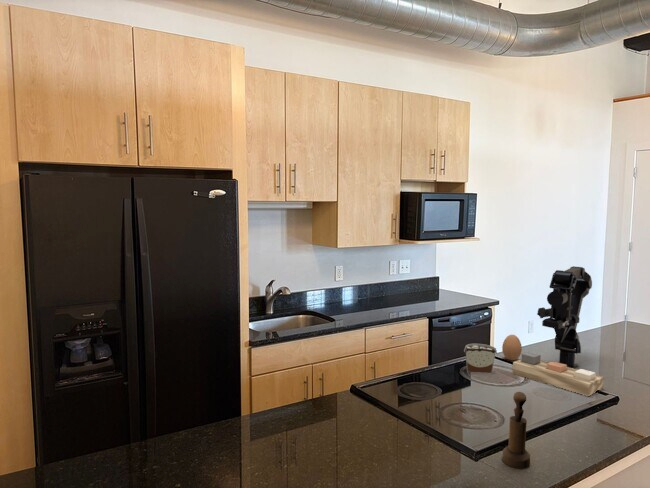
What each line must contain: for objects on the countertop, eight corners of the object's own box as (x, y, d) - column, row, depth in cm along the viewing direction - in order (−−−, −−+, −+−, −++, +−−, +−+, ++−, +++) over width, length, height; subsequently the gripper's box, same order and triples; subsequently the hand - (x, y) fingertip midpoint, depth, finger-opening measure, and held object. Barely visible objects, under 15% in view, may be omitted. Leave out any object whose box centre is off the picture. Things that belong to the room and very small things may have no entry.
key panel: (528, 367, 195) (528, 356, 195) (602, 389, 174) (603, 376, 173) (512, 373, 188) (513, 362, 187) (588, 397, 166) (589, 384, 166)
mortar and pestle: (497, 455, 126) (501, 387, 124) (521, 454, 126) (526, 387, 125) (509, 469, 119) (513, 397, 118) (534, 468, 120) (539, 397, 118)
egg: (522, 359, 205) (524, 334, 204) (518, 364, 199) (520, 338, 198) (503, 356, 209) (505, 331, 208) (499, 360, 203) (501, 335, 202)
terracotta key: (552, 368, 184) (553, 361, 184) (566, 372, 180) (566, 364, 180) (546, 371, 181) (547, 363, 181) (560, 375, 177) (560, 367, 177)
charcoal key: (527, 359, 192) (528, 351, 191) (540, 362, 188) (540, 354, 187) (521, 361, 188) (521, 353, 188) (533, 365, 185) (534, 357, 184)
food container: (492, 368, 193) (493, 344, 192) (495, 374, 187) (497, 348, 186) (460, 366, 194) (461, 342, 193) (463, 372, 188) (464, 346, 187)
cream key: (580, 376, 176) (580, 368, 176) (595, 380, 172) (595, 372, 172) (574, 379, 173) (574, 371, 173) (588, 383, 169) (589, 375, 169)
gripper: (553, 297, 200) (550, 334, 201) (530, 302, 188) (527, 341, 189) (581, 301, 191) (578, 340, 193) (559, 307, 180) (556, 348, 181)
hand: (559, 342), depth 189 cm, fingers closed
